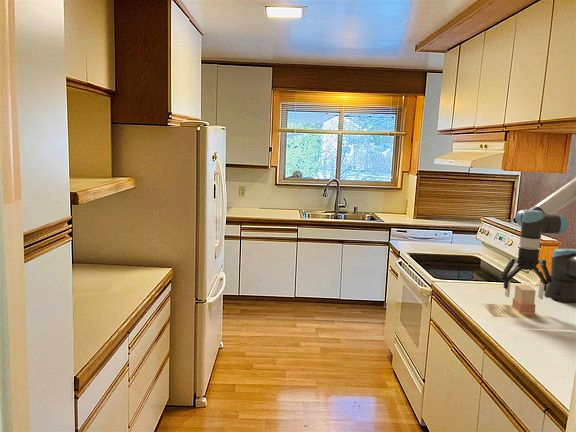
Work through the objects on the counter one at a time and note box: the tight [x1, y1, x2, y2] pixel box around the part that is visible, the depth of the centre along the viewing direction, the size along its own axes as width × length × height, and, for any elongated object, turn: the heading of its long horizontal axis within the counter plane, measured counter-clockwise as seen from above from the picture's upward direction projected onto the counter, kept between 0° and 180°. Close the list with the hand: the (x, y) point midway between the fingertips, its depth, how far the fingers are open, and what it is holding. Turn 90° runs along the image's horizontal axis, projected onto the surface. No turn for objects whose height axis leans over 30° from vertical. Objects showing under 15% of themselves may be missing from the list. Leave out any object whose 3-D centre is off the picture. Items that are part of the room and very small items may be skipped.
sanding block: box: [511, 284, 537, 315], centre depth 200 cm, size 6×8×10 cm
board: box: [481, 303, 541, 320], centre depth 200 cm, size 18×16×1 cm
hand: (523, 297), depth 200 cm, fingers open, 13 cm apart
